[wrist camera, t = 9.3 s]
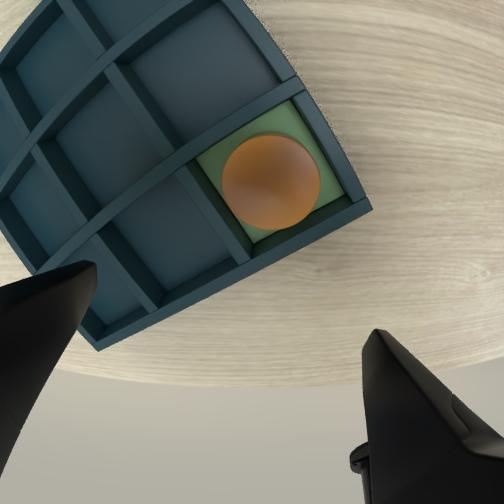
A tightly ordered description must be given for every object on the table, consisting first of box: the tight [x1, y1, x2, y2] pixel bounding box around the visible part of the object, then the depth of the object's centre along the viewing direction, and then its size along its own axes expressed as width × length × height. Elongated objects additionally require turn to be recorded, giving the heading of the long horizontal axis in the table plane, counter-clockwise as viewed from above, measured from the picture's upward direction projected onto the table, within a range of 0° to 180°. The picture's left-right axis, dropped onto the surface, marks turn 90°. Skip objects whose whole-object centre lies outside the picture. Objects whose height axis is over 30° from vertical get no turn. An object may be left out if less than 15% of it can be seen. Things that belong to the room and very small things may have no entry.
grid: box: [0, 0, 373, 352], centre depth 16 cm, size 21×21×3 cm
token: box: [221, 131, 321, 230], centre depth 15 cm, size 5×5×2 cm
